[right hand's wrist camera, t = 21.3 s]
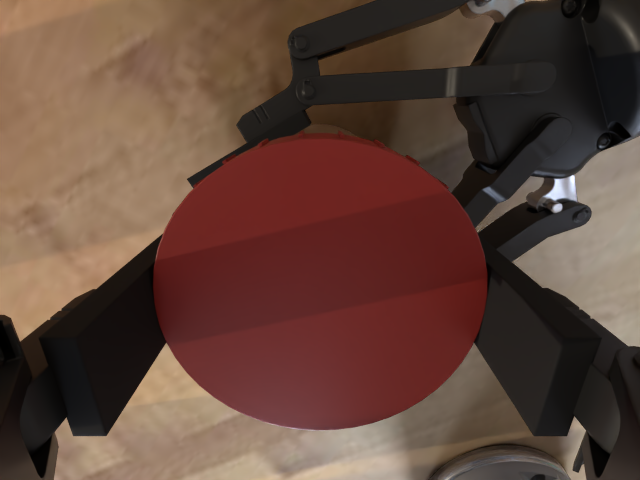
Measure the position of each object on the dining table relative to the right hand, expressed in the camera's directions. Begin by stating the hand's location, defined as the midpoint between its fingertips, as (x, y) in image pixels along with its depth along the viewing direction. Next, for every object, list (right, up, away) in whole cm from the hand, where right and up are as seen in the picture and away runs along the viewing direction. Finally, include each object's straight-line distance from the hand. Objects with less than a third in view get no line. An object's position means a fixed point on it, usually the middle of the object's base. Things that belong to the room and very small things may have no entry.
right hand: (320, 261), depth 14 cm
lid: (0, -1, -3) cm, 3 cm away
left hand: (-4, 0, +6) cm, 8 cm away
